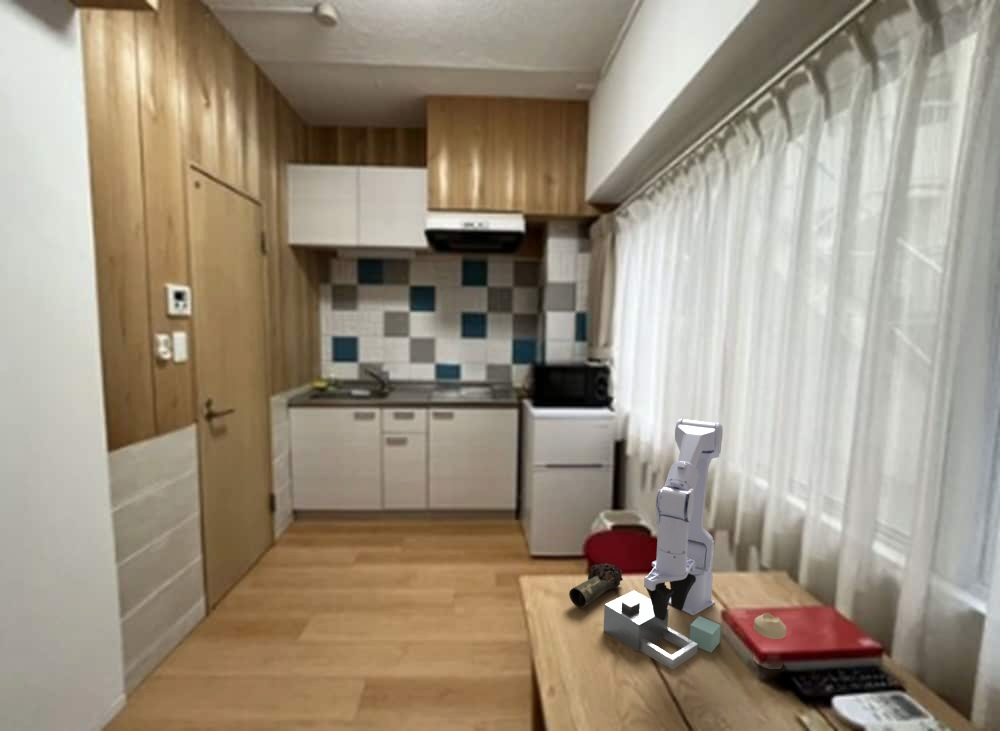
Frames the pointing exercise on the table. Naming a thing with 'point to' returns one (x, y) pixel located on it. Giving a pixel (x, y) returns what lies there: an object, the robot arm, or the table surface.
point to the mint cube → (705, 633)
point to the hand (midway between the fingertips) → (668, 612)
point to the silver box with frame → (645, 629)
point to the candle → (770, 626)
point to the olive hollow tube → (596, 584)
